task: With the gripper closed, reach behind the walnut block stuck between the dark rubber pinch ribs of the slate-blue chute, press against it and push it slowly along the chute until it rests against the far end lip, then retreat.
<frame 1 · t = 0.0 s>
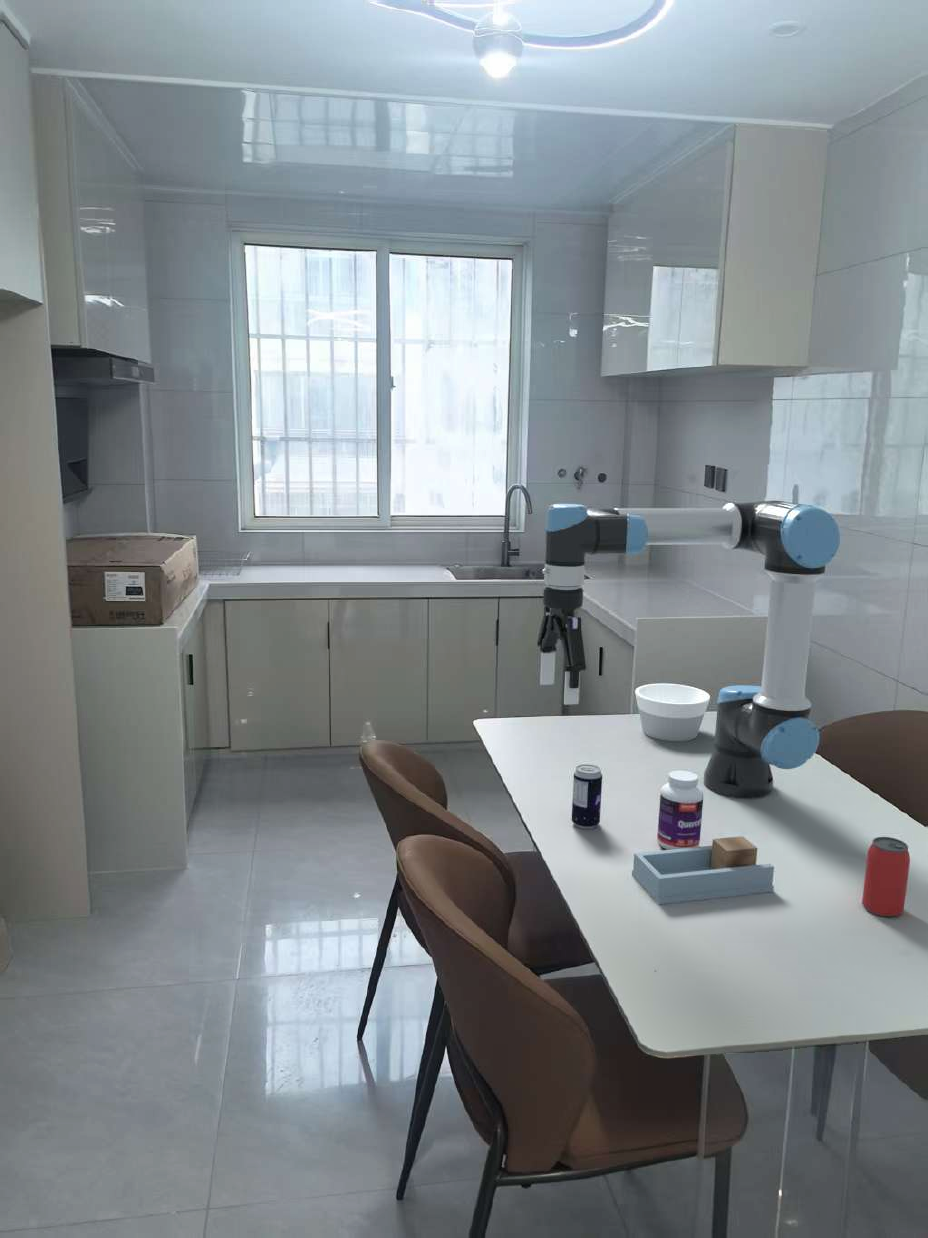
hand: (558, 693, 189), 28 cm above the table, fingers open, 13 cm apart
walnut block: (733, 859, 174), point 4 cm above the table, slide at 0.0 cm
pill bottle: (677, 846, 188), on the table
beer can: (882, 910, 166), on the table
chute: (701, 883, 173), on the table
bowl: (669, 733, 256), on the table
beverage can: (585, 825, 197), on the table
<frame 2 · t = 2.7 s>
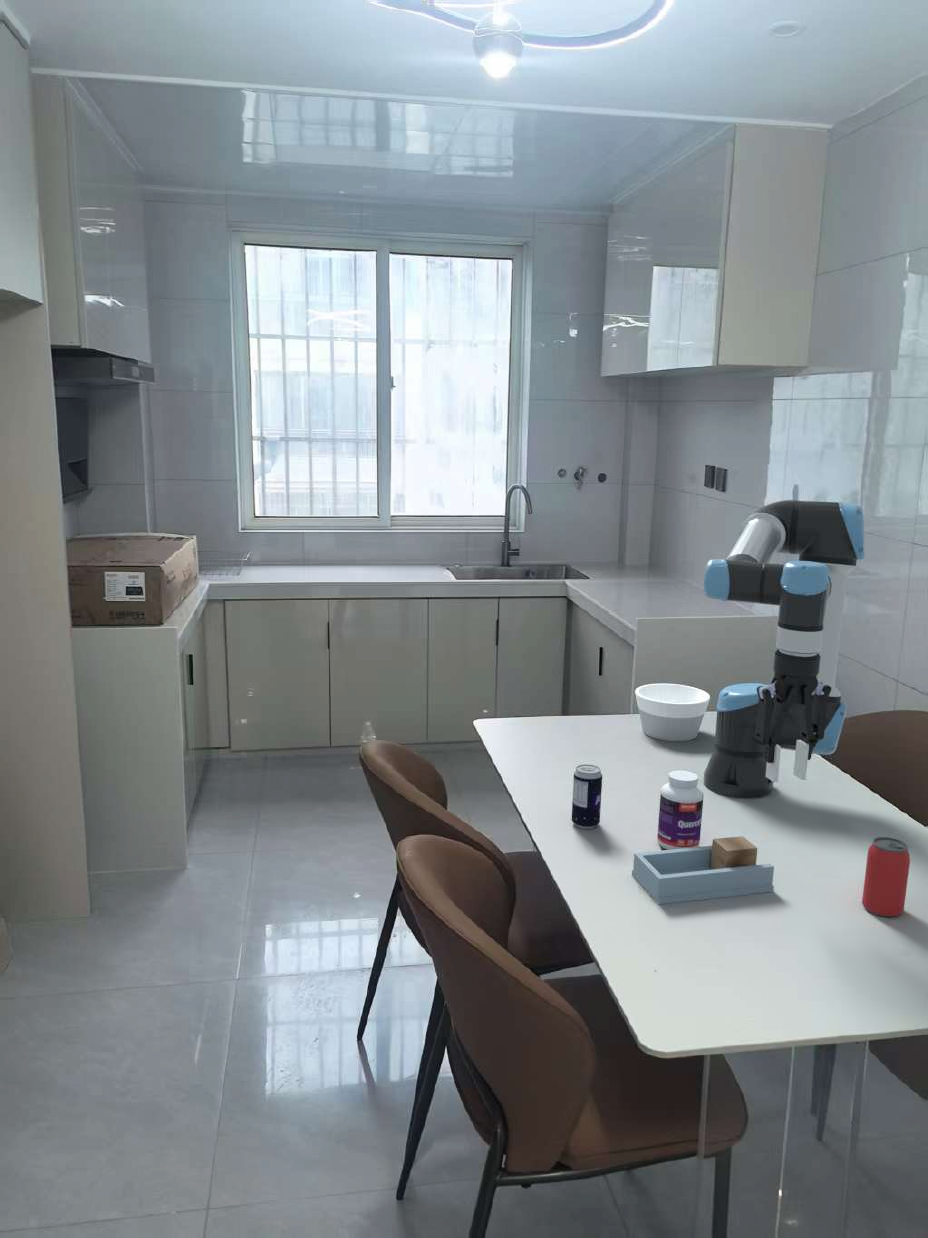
hand: (785, 777, 173), 19 cm above the table, fingers open, 5 cm apart
nothing on the table moved.
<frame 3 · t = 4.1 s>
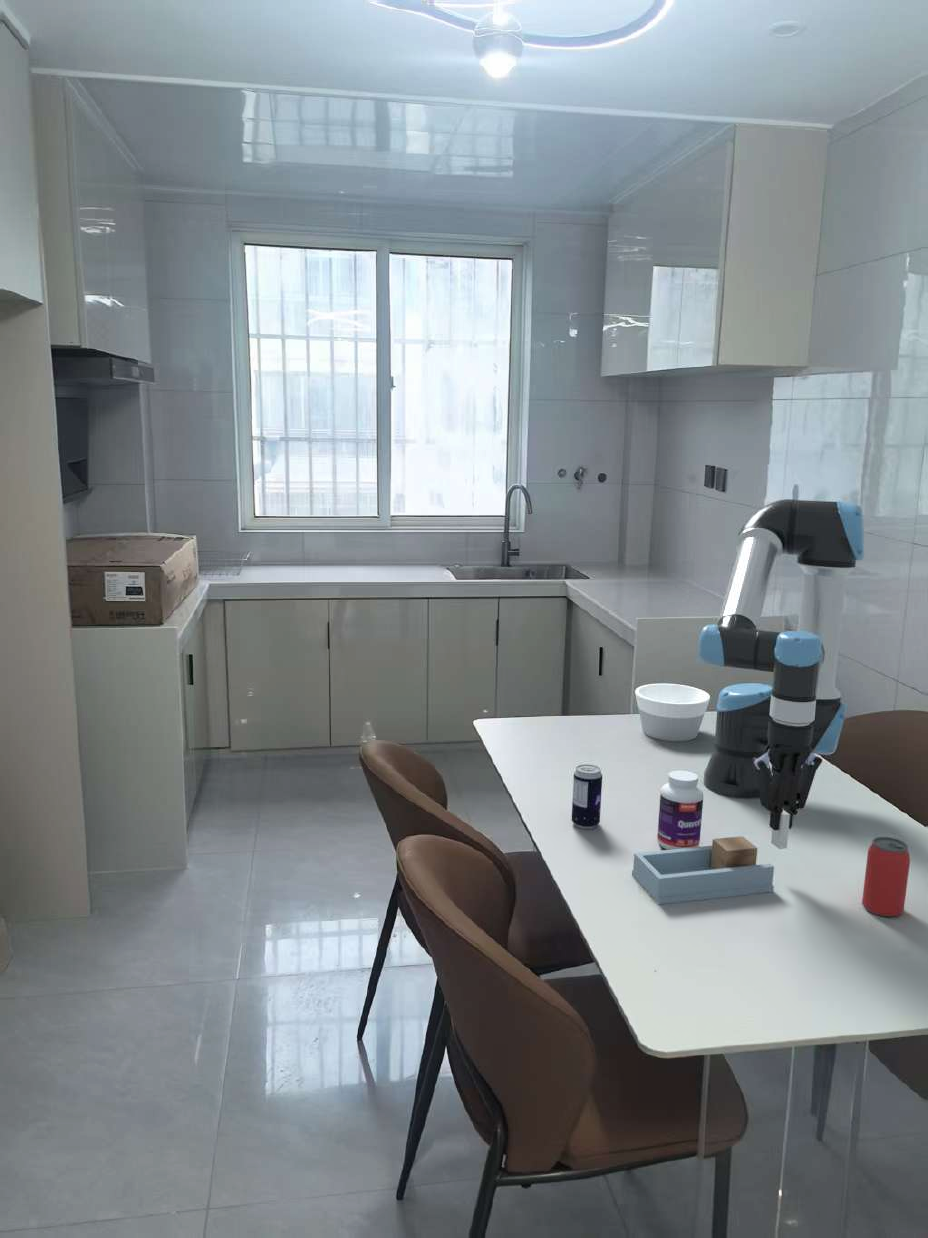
hand: (778, 845, 176), 6 cm above the table, fingers closed
nothing on the table moved.
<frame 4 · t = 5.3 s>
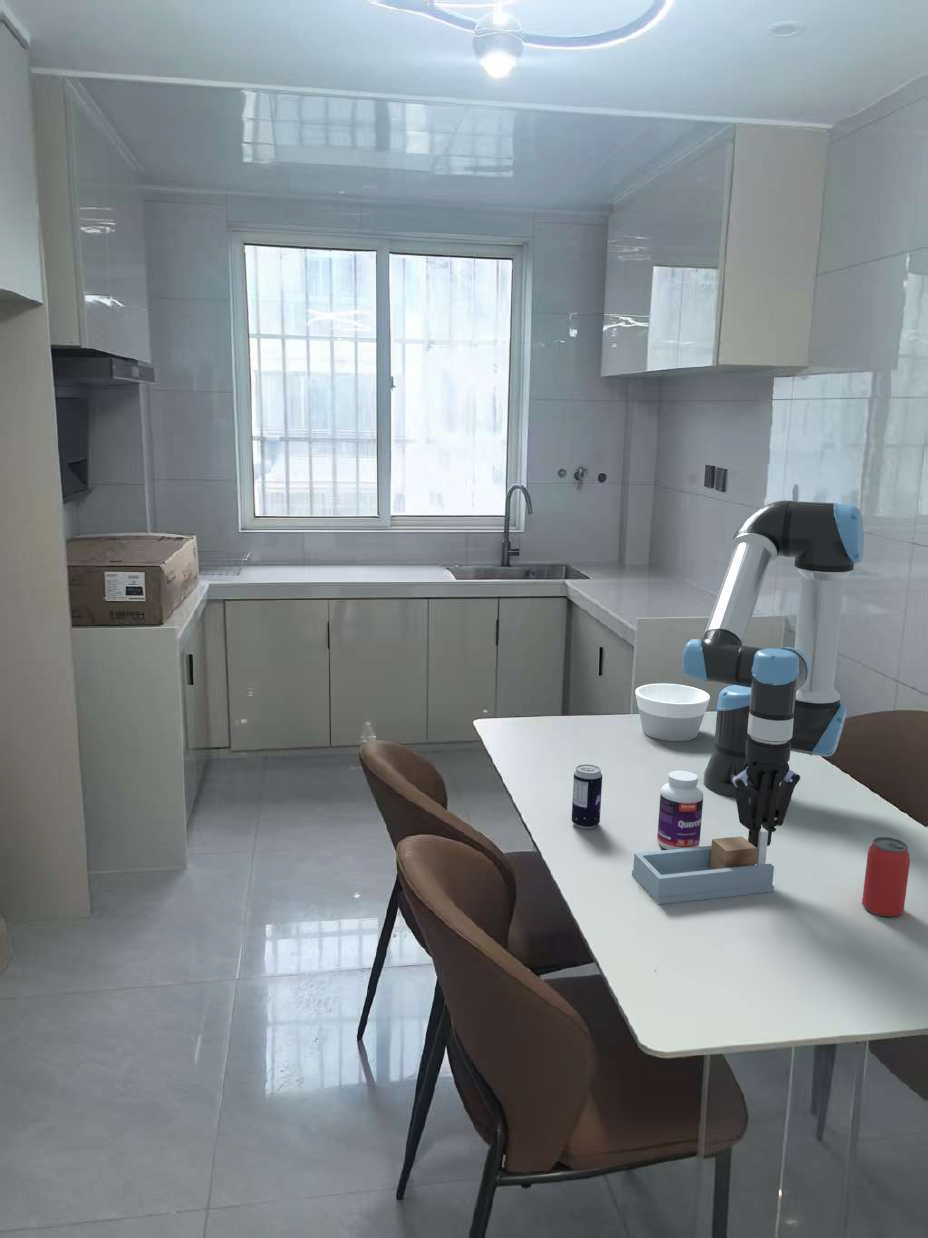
hand: (757, 862, 175), 3 cm above the table, fingers closed
walnut block: (732, 859, 174), point 4 cm above the table, slide at 0.2 cm, touching gripper
everything else where it was.
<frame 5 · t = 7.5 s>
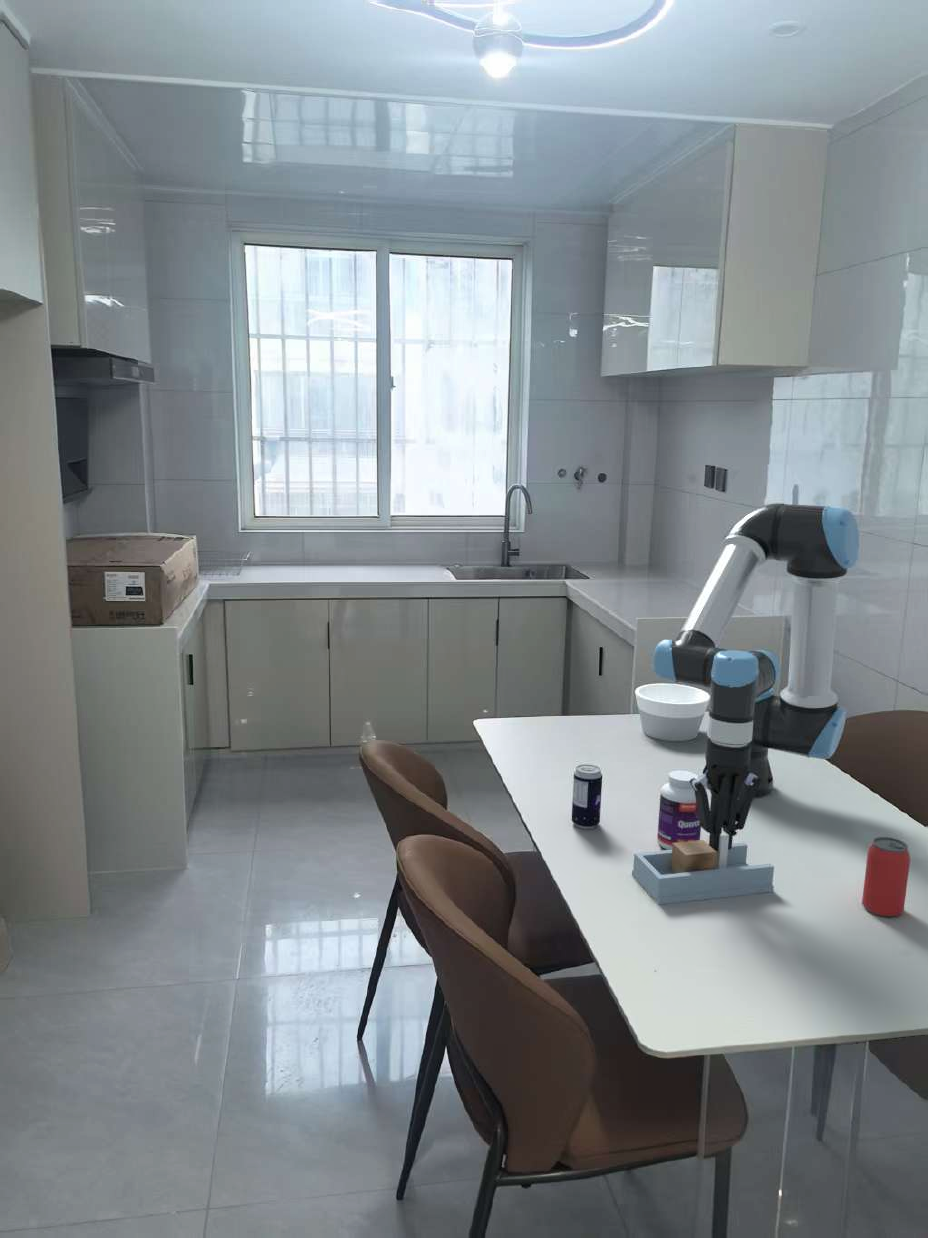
hand: (718, 866, 173), 3 cm above the table, fingers closed
walnut block: (693, 863, 172), point 4 cm above the table, slide at 8.0 cm, touching gripper
everything else where it was.
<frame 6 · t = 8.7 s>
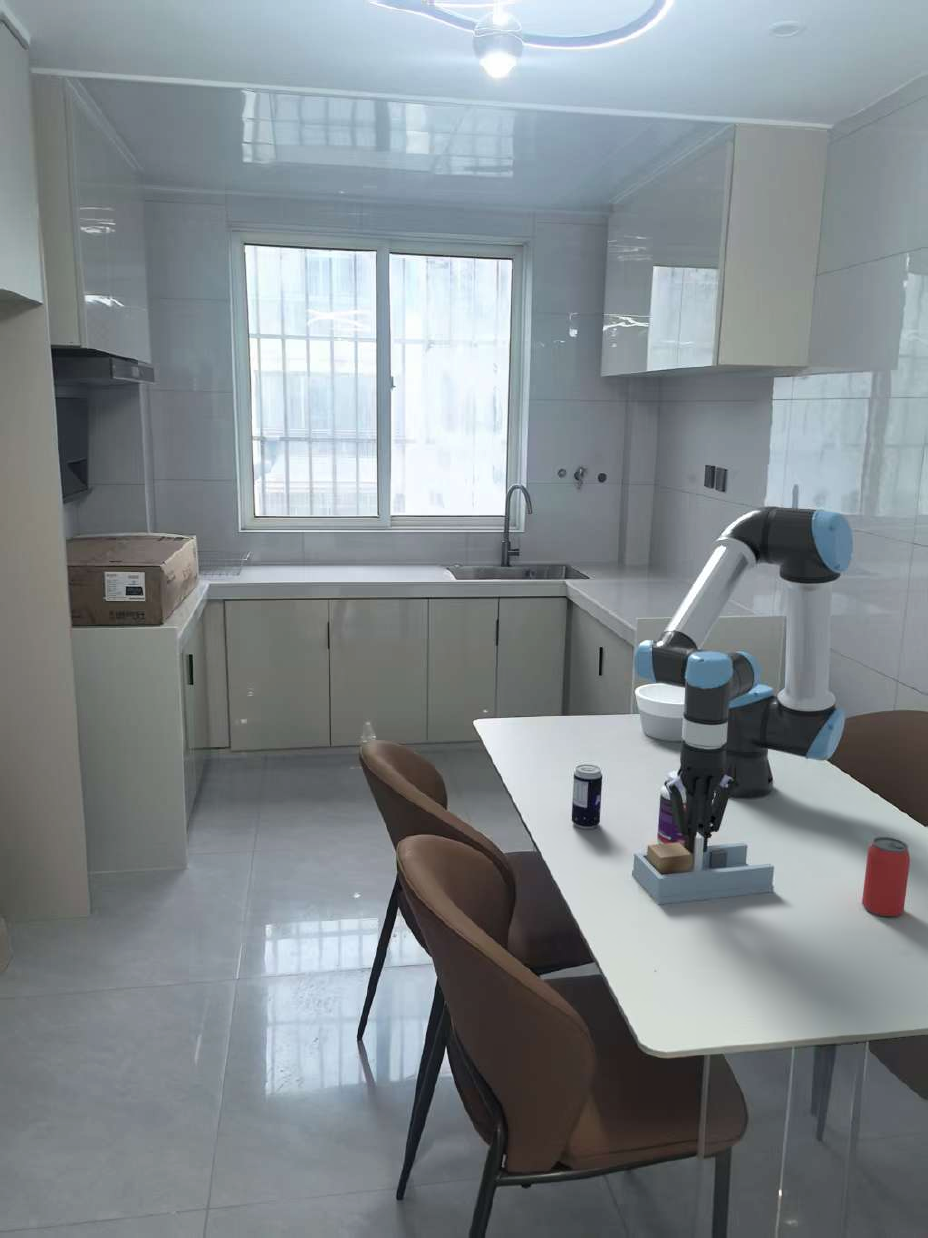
hand: (694, 868, 172), 3 cm above the table, fingers closed
walnut block: (668, 865, 171), point 4 cm above the table, slide at 12.7 cm, touching gripper
everything else where it was.
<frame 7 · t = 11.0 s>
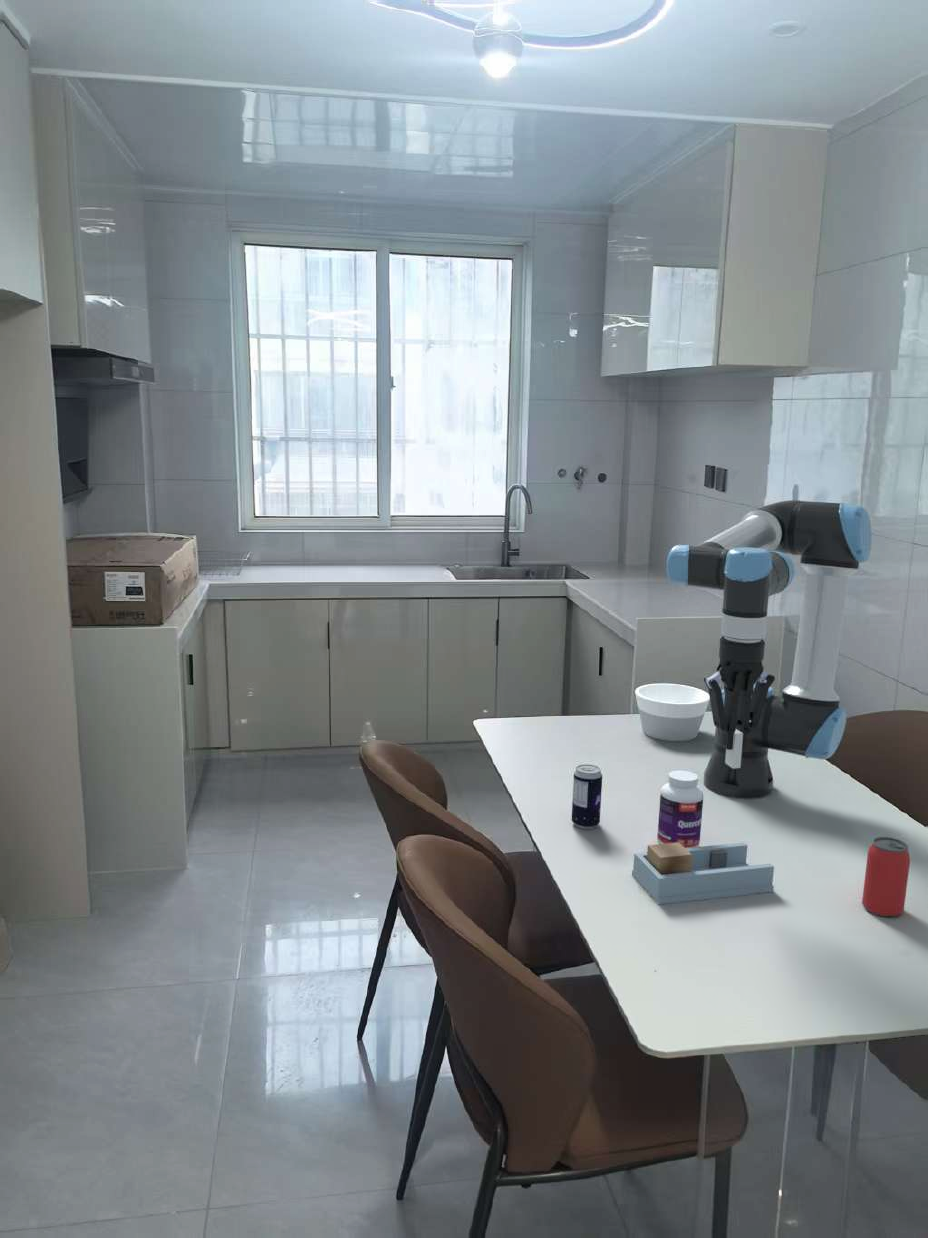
hand: (732, 765, 174), 20 cm above the table, fingers closed
walnut block: (668, 865, 171), point 4 cm above the table, slide at 12.7 cm
everything else where it was.
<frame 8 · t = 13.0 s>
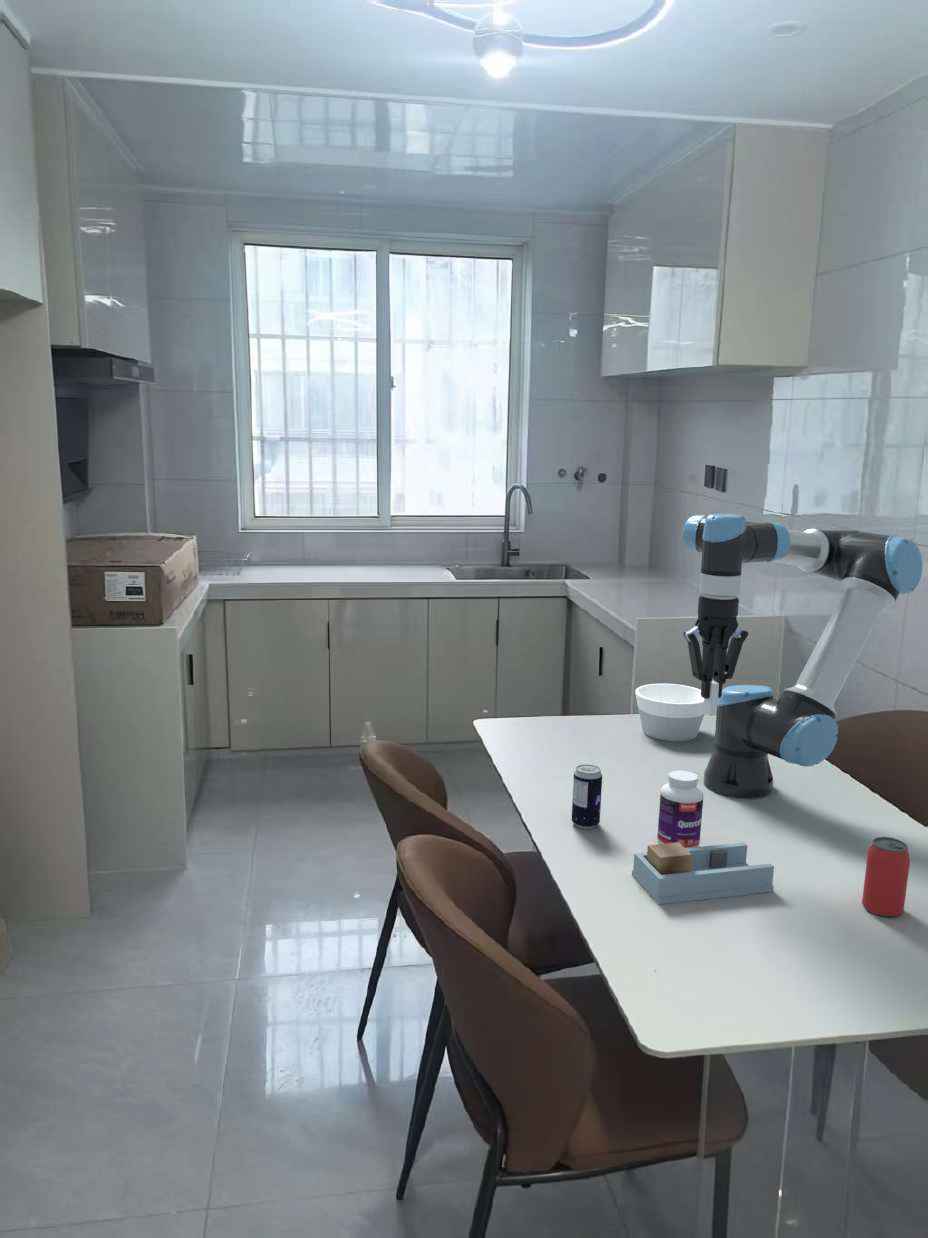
hand: (709, 713, 191), 24 cm above the table, fingers closed
nothing on the table moved.
at the end: walnut block slide at 12.7 cm; walnut block moved 12.7 cm from its start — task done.
